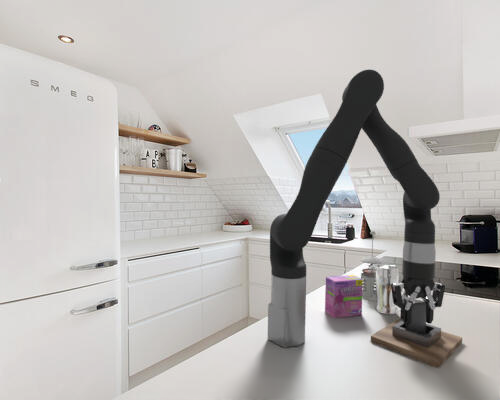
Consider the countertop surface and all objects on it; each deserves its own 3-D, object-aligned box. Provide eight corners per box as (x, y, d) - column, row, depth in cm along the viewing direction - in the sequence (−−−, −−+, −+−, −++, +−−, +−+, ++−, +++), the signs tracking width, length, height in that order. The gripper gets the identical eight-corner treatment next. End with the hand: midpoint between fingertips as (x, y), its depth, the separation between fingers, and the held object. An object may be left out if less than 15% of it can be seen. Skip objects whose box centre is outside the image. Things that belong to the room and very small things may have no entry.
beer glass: (378, 305, 106) (379, 263, 106) (399, 310, 102) (401, 266, 102) (371, 311, 101) (373, 266, 101) (394, 317, 97) (395, 270, 96)
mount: (438, 368, 68) (439, 350, 68) (370, 341, 80) (371, 326, 80) (462, 343, 80) (462, 328, 80) (399, 323, 92) (400, 309, 92)
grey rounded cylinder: (422, 342, 77) (422, 306, 77) (402, 335, 81) (402, 301, 81) (428, 336, 80) (428, 302, 80) (409, 330, 84) (409, 297, 84)
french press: (380, 292, 121) (381, 229, 120) (390, 303, 109) (392, 233, 109) (354, 291, 122) (356, 229, 121) (362, 301, 110) (364, 233, 110)
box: (333, 318, 95) (334, 281, 95) (324, 311, 100) (325, 276, 100) (362, 315, 98) (363, 279, 97) (352, 309, 103) (352, 274, 103)
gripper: (401, 262, 75) (399, 329, 76) (455, 262, 77) (452, 328, 77) (384, 256, 83) (383, 317, 83) (434, 255, 84) (432, 316, 85)
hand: (416, 322), depth 80 cm, fingers open, 5 cm apart
